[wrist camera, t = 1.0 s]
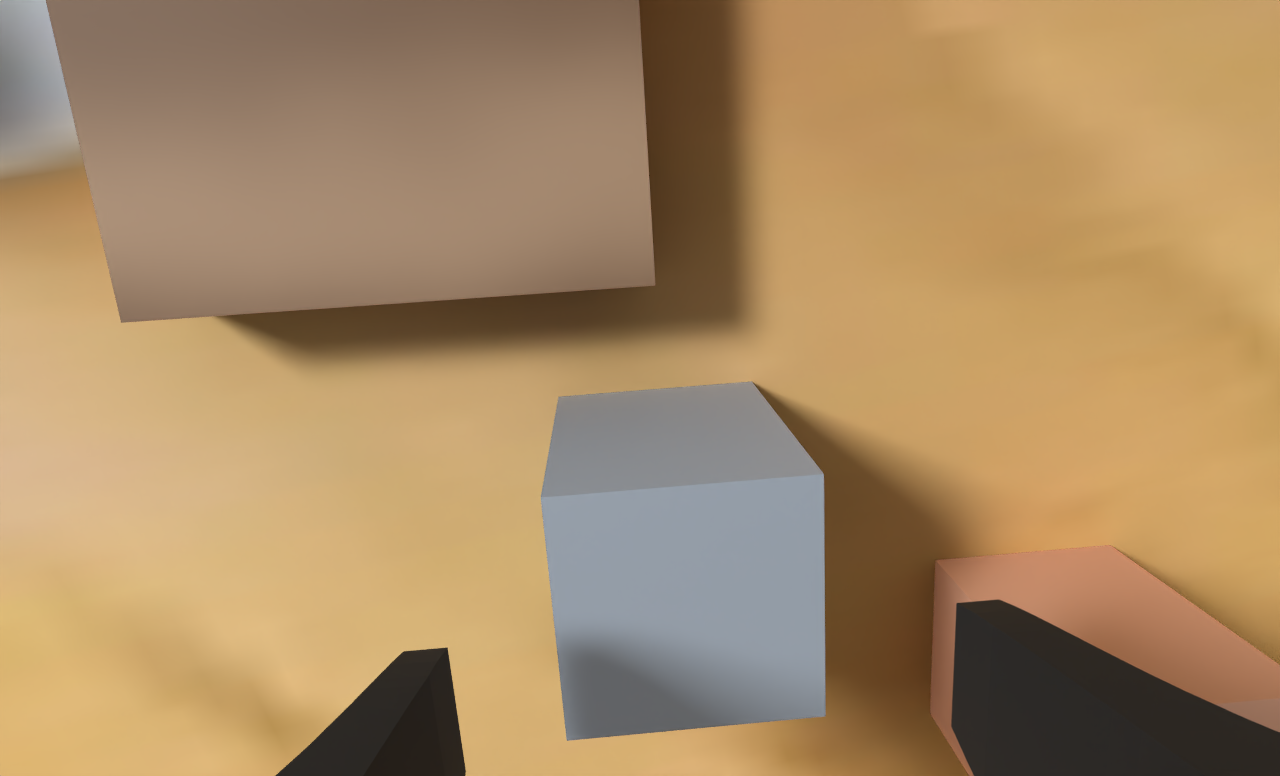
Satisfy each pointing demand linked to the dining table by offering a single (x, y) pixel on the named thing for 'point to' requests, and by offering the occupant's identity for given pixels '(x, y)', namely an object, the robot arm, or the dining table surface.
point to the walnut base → (358, 149)
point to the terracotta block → (1105, 626)
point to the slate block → (683, 562)
